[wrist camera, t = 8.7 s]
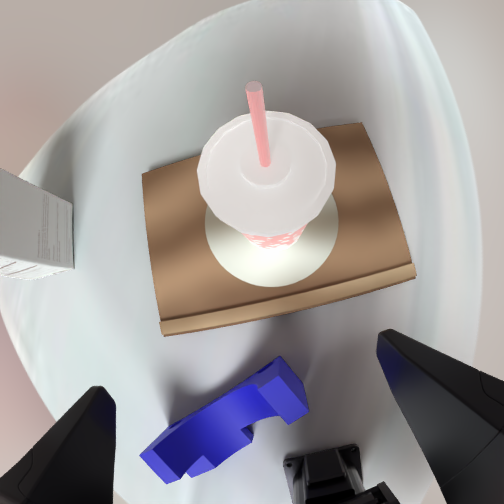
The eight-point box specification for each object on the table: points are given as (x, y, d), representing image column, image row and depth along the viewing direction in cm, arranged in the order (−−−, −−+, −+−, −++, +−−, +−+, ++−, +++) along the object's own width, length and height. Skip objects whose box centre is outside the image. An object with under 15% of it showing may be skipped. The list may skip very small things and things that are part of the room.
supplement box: (33, 220, 25) (-46, 188, 13) (74, 202, 25) (-14, 156, 12) (33, 282, 24) (-55, 268, 12) (75, 272, 23) (-29, 251, 11)
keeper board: (409, 279, 20) (417, 277, 19) (169, 335, 21) (162, 337, 20) (358, 129, 23) (362, 120, 21) (147, 179, 24) (140, 172, 22)
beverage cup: (298, 274, 20) (332, 221, 6) (219, 244, 21) (113, 153, 7) (325, 197, 20) (376, 55, 7) (250, 172, 21) (207, 23, 8)
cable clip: (201, 461, 19) (180, 497, 14) (169, 425, 20) (139, 455, 14) (313, 396, 20) (323, 427, 14) (279, 354, 20) (278, 375, 15)
